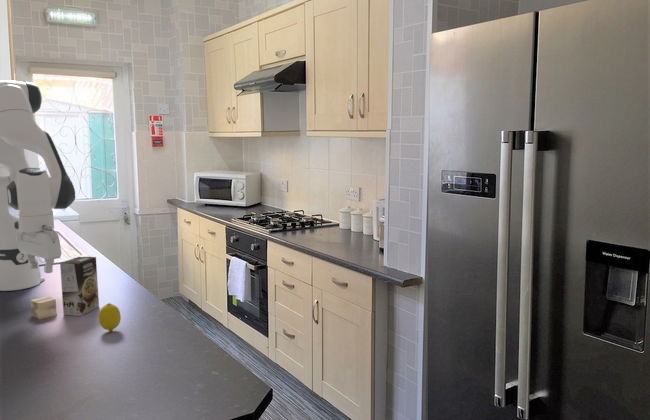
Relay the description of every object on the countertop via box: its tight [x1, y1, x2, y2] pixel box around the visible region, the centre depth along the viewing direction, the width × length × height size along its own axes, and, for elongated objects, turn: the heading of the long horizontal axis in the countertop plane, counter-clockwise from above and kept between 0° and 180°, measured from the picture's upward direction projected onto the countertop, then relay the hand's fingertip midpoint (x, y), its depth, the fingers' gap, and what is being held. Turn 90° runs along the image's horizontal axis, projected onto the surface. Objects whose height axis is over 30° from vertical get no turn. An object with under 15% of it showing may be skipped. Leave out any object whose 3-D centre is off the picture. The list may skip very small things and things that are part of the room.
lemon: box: [98, 302, 122, 332], centre depth 150 cm, size 6×6×8 cm
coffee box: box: [59, 256, 100, 317], centre depth 167 cm, size 9×6×16 cm
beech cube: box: [30, 295, 58, 320], centre depth 164 cm, size 5×5×5 cm
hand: (41, 270), depth 162 cm, fingers open, 8 cm apart
